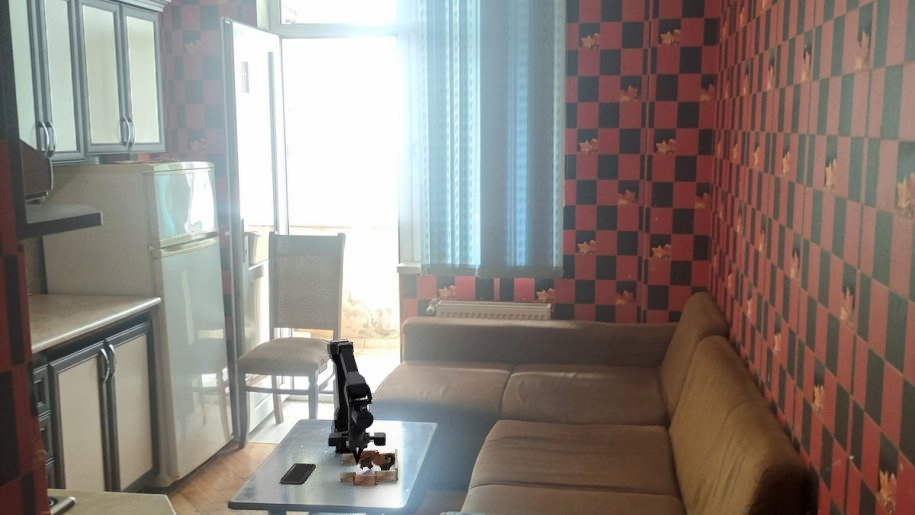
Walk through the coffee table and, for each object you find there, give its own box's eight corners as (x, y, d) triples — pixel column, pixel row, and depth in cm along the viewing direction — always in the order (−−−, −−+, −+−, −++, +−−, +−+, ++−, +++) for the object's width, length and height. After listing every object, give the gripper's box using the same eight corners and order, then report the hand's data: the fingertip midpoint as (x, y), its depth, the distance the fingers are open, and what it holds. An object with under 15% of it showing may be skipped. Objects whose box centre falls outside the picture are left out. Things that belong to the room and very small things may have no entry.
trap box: (339, 486, 260) (339, 474, 260) (343, 459, 282) (343, 448, 282) (398, 483, 262) (397, 471, 261) (397, 457, 284) (397, 446, 283)
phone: (279, 481, 263) (294, 462, 278) (279, 484, 264) (294, 466, 278) (302, 482, 262) (317, 463, 277) (303, 485, 263) (317, 467, 277)
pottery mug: (372, 484, 263) (361, 460, 264) (364, 487, 271) (353, 464, 272) (404, 466, 269) (392, 443, 270) (394, 470, 277) (383, 447, 278)
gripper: (326, 427, 261) (326, 474, 263) (385, 426, 262) (385, 473, 264) (329, 415, 272) (329, 460, 274) (386, 415, 273) (385, 460, 275)
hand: (357, 464), depth 272 cm, fingers closed
